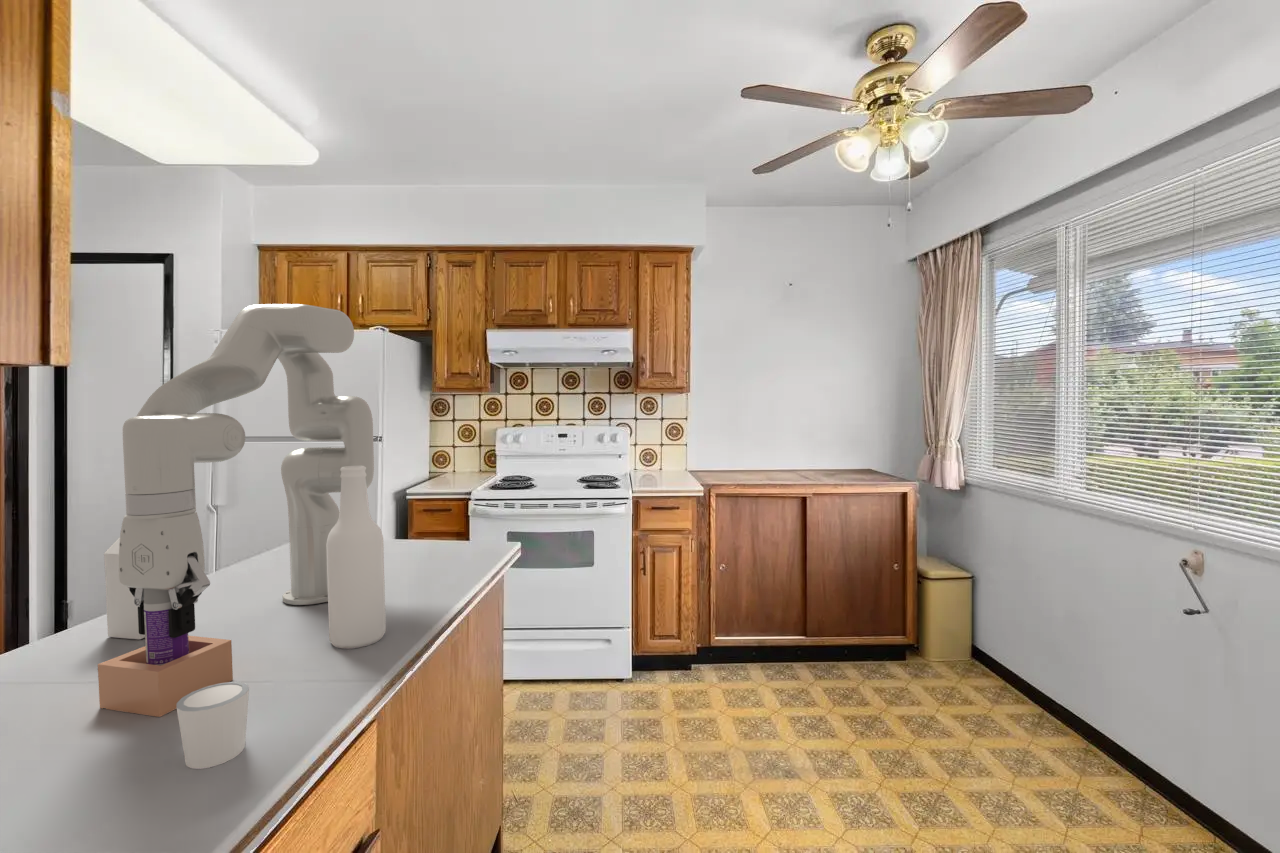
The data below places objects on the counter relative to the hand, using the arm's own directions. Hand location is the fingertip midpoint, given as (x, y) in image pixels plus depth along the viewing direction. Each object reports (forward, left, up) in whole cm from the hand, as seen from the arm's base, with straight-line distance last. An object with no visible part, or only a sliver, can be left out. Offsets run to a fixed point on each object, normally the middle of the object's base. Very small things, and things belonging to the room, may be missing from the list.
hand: (167, 631), depth 82 cm
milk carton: (-17, -28, -9) cm, 34 cm away
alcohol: (-22, +13, -9) cm, 27 cm away
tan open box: (0, 0, -9) cm, 9 cm away
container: (0, 0, -7) cm, 7 cm away
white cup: (+10, +20, -9) cm, 24 cm away
